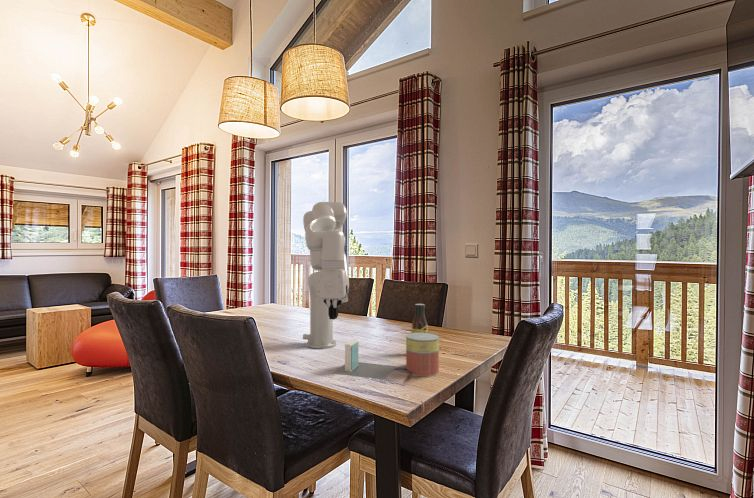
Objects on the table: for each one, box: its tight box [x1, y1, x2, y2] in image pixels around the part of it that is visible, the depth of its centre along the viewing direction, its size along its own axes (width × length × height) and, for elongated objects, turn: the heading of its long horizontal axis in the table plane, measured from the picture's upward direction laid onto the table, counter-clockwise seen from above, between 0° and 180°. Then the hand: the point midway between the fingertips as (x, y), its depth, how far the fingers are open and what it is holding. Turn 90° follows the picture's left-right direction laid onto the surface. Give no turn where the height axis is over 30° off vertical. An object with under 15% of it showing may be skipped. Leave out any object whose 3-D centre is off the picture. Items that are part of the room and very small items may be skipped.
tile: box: [344, 338, 359, 372], centre depth 131 cm, size 2×7×9 cm, turn 162°
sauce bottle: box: [411, 303, 429, 333], centre depth 151 cm, size 7×6×20 cm
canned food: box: [405, 332, 440, 378], centre depth 132 cm, size 11×11×12 cm
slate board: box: [332, 361, 397, 381], centre depth 130 cm, size 18×14×1 cm
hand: (333, 318), depth 133 cm, fingers closed
